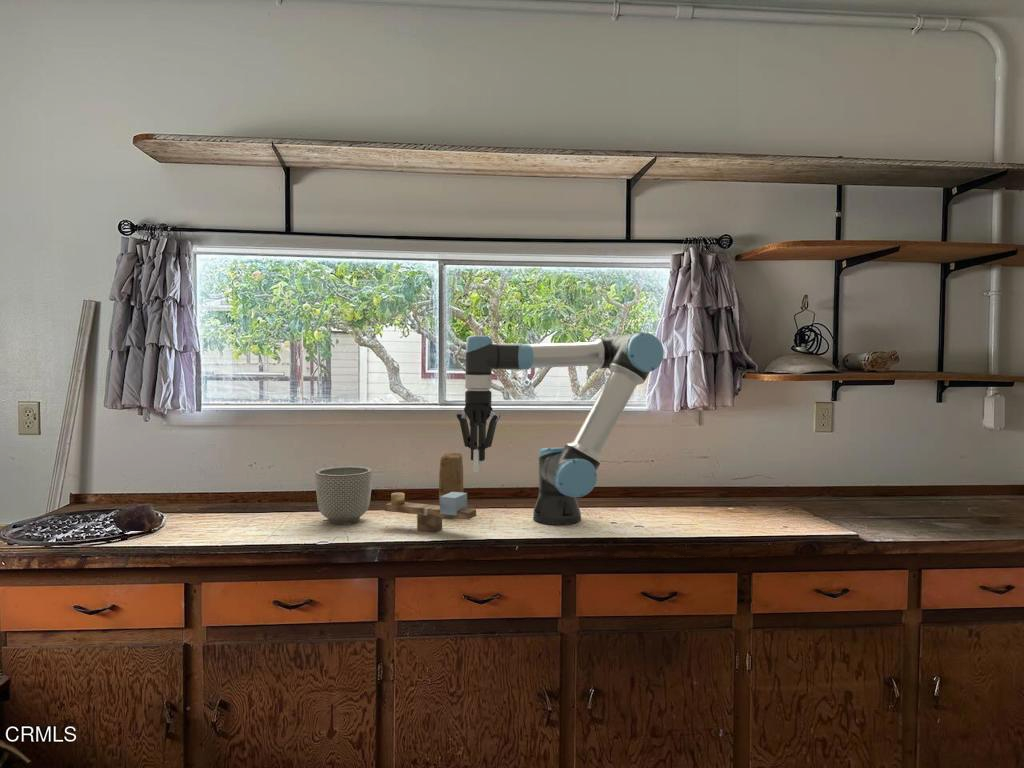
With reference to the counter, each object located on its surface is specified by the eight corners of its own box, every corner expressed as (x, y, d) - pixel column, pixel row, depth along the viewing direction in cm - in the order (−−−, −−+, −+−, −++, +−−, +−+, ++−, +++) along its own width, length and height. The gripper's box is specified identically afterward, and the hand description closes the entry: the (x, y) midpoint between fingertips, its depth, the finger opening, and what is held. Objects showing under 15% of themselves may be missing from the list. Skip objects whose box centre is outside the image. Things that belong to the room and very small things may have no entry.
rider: (467, 509, 187) (467, 493, 187) (455, 515, 180) (455, 498, 180) (452, 508, 189) (452, 491, 189) (440, 513, 182) (440, 496, 182)
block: (460, 518, 201) (460, 456, 201) (437, 518, 202) (437, 456, 201) (465, 510, 212) (465, 451, 212) (443, 510, 213) (443, 451, 212)
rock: (128, 533, 188) (107, 542, 178) (123, 505, 188) (102, 512, 178) (167, 527, 188) (148, 535, 178) (162, 499, 188) (143, 505, 178)
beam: (476, 532, 185) (476, 498, 184) (468, 537, 180) (468, 502, 180) (394, 523, 195) (393, 491, 195) (384, 527, 190) (384, 494, 190)
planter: (304, 521, 197) (304, 470, 197) (352, 512, 210) (352, 464, 209) (334, 531, 185) (334, 477, 185) (383, 521, 198) (383, 470, 198)
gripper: (504, 390, 181) (503, 471, 182) (463, 389, 186) (463, 468, 187) (494, 390, 174) (493, 475, 175) (452, 389, 179) (451, 472, 180)
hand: (477, 471), depth 181 cm, fingers closed
